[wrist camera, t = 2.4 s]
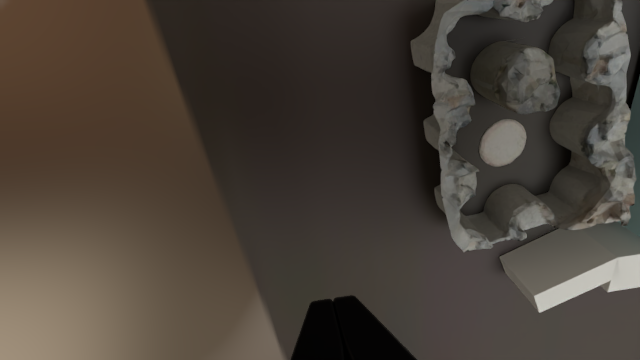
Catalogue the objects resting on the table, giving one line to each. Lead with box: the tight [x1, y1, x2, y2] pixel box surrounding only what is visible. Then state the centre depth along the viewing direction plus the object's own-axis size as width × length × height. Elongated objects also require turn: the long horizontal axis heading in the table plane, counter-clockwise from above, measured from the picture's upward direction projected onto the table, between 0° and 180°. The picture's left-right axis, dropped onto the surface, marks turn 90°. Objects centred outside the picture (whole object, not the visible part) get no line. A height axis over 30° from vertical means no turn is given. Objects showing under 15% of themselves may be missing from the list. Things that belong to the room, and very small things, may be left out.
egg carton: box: [411, 0, 636, 252], centre depth 16 cm, size 11×8×4 cm
